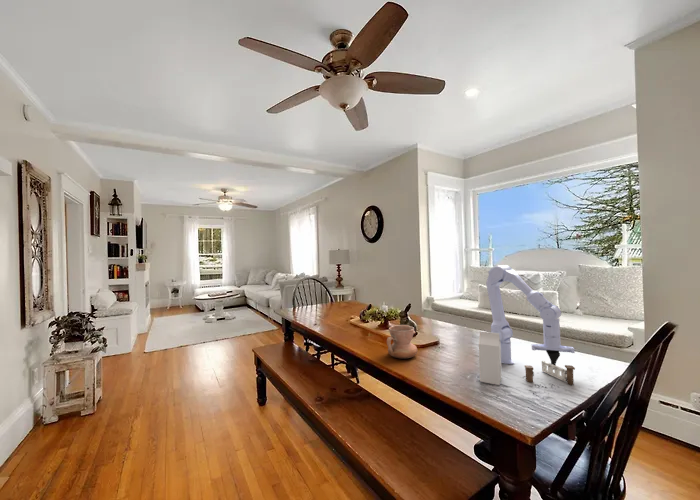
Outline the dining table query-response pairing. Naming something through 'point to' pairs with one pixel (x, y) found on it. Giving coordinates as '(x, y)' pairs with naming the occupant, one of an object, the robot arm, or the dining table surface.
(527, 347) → the dining table surface
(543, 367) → the gate
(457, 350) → the dining table surface
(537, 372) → the dining table surface
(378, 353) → the dining table surface
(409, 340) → the ceramic jug
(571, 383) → the hinge post
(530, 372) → the post
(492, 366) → the milk carton
